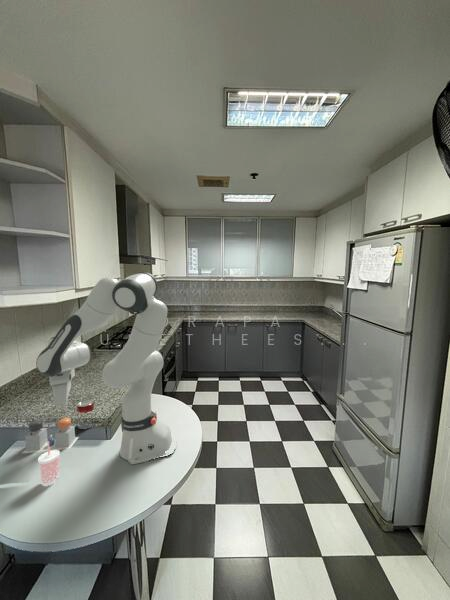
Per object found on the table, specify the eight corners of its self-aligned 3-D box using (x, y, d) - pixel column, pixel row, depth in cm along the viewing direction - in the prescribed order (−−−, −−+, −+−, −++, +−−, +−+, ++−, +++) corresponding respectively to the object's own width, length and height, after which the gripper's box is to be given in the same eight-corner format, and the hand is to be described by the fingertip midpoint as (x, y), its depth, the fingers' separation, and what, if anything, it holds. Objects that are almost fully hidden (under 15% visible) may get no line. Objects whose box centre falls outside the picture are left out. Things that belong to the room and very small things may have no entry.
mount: (79, 439, 108) (78, 423, 107) (69, 451, 100) (69, 434, 99) (34, 443, 105) (33, 427, 105) (21, 455, 97) (20, 438, 97)
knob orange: (74, 438, 106) (72, 417, 105) (68, 445, 101) (67, 422, 101) (62, 439, 105) (61, 418, 105) (56, 446, 101) (55, 423, 100)
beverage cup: (44, 476, 86) (42, 437, 86) (64, 472, 88) (62, 434, 87) (35, 489, 80) (33, 448, 80) (56, 485, 82) (54, 445, 81)
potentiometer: (56, 442, 104) (55, 433, 103) (52, 446, 101) (52, 437, 101) (50, 443, 103) (49, 434, 103) (46, 446, 101) (45, 437, 101)
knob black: (46, 441, 104) (45, 419, 104) (39, 447, 100) (38, 425, 99) (34, 442, 104) (33, 420, 103) (27, 449, 99) (25, 426, 99)
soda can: (87, 433, 112) (86, 407, 112) (73, 431, 114) (72, 406, 113) (98, 424, 119) (97, 400, 119) (85, 423, 121) (84, 399, 120)
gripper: (56, 369, 110) (59, 399, 110) (48, 382, 92) (51, 419, 92) (73, 366, 113) (75, 396, 113) (68, 379, 94) (71, 414, 95)
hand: (64, 406), depth 102 cm, fingers closed
